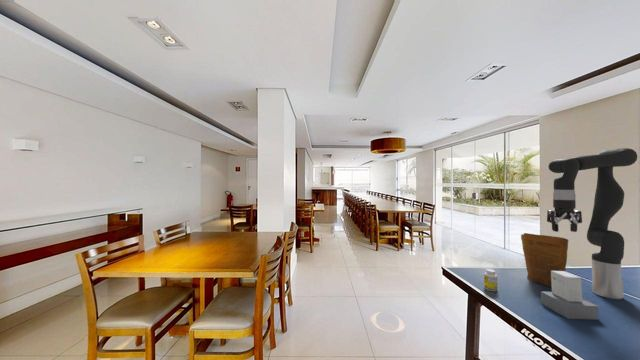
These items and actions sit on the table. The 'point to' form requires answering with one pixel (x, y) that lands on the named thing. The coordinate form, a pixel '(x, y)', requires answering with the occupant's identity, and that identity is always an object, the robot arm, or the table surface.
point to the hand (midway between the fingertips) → (564, 231)
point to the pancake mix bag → (544, 256)
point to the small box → (566, 286)
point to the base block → (570, 307)
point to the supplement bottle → (490, 280)
